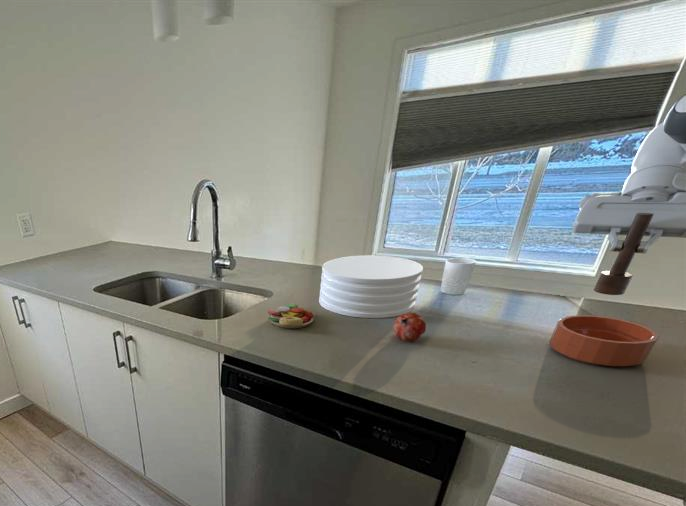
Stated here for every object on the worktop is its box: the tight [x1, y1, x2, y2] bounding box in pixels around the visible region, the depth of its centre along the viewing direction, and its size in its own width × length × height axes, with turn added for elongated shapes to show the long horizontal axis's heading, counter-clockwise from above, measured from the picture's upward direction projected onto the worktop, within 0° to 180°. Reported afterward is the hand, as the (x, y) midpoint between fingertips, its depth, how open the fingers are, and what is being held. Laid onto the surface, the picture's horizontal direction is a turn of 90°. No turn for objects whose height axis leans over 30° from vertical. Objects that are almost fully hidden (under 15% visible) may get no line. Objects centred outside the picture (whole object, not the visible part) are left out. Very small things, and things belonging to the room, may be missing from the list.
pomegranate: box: [392, 311, 427, 343], centre depth 103 cm, size 7×7×10 cm
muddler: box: [593, 213, 654, 296], centre depth 84 cm, size 5×5×16 cm
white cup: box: [440, 257, 477, 296], centre depth 128 cm, size 8×8×10 cm
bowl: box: [549, 314, 660, 367], centre depth 89 cm, size 16×16×6 cm
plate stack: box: [318, 254, 424, 319], centre depth 126 cm, size 28×28×12 cm
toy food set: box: [267, 303, 315, 329], centre depth 120 cm, size 13×13×3 cm
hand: (628, 250), depth 84 cm, fingers closed on muddler, 2 cm apart
